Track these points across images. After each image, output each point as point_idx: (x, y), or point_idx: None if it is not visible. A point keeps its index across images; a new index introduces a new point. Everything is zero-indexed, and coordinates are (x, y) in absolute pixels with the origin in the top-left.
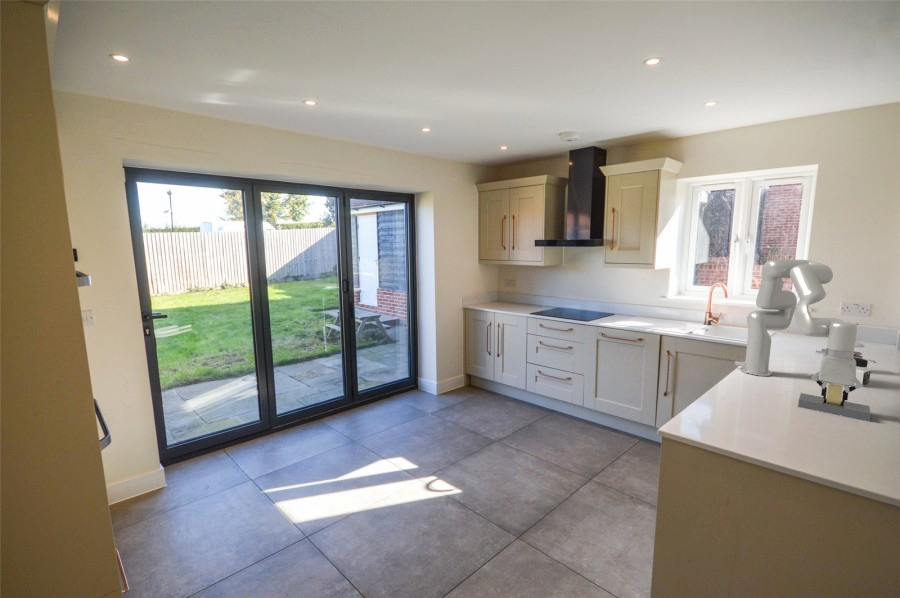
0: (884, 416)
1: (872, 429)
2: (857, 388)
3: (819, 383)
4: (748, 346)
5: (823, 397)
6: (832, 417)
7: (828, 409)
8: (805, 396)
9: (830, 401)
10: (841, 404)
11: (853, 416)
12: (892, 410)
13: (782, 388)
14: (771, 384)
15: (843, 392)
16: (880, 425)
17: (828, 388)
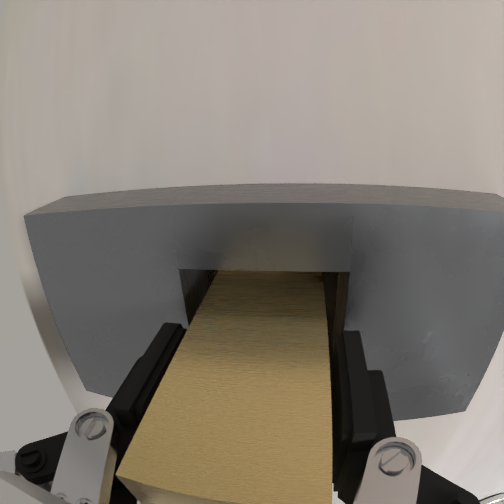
0: (64, 352)
1: (48, 39)
2: (10, 452)
3: (443, 500)
4: None
5: (359, 335)
6: (259, 70)
7: (299, 192)
8: (465, 355)
9: (288, 309)
10: None
11: (127, 192)
12: None
13: (461, 463)
14: (482, 471)
15: (141, 420)
16: (27, 168)
17: (326, 449)
